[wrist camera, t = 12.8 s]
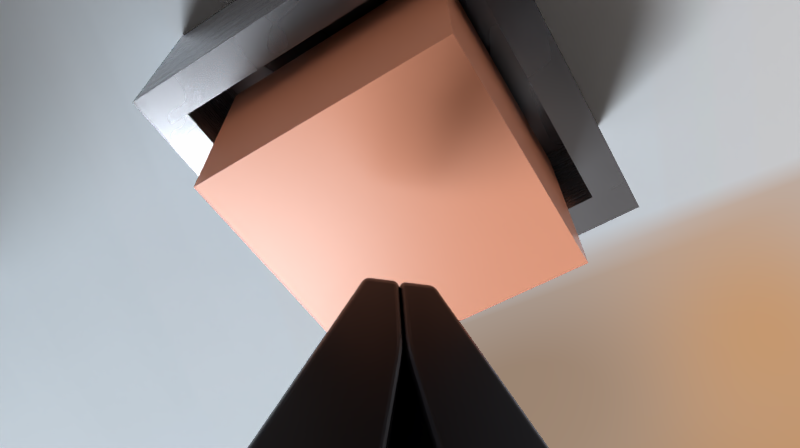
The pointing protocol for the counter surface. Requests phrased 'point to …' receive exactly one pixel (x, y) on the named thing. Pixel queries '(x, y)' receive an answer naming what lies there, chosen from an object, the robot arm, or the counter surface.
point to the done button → (392, 168)
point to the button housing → (337, 8)
